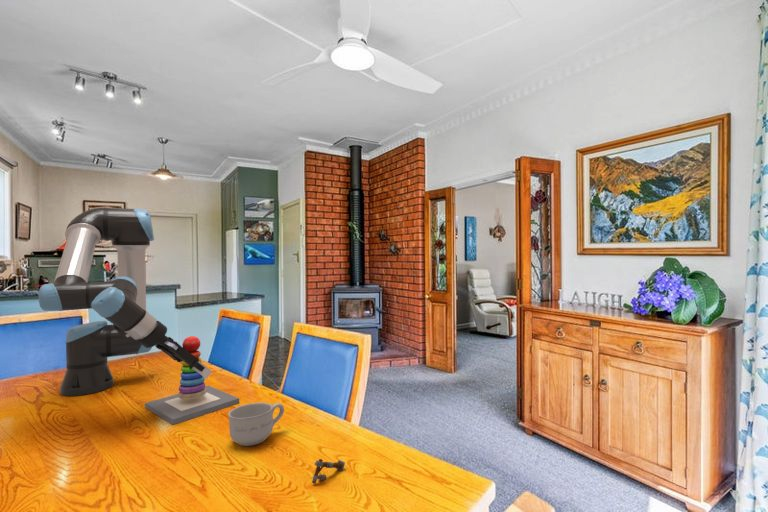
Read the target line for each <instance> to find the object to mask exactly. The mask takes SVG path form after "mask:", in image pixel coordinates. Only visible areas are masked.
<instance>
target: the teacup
mask: <svg viewBox="0 0 768 512" xmlns="http://www.w3.org/2000/svg"><path fill="white" fill-rule="evenodd" d="M277 408H279V412H278V413H277V415H276V416H275V417H274V413H275V412H274V411H275V410H276V409H277ZM284 413H285V408H284V405H283V404H282V403H280V402H276V403H274V404H271V403H269V402H268V403H267V402H252V403H247V404H242V405H240V406H237V407H235V408H232V409H231V410H229V412H228V414H227V416H228V424H229V425H228V426H229V436H230V439H231V440H232V442H235V443H237V444H238V445H239V446H243V447H249V446H250V447H252V446H255V445H258V444H261V443H263V442H265V440H266V439H267V438H268V437H269V436H270V435H271V433H272V432H273V428H274V426H275V424H277V422H279V420H281V418H282V417H283V416H284Z"/></svg>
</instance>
